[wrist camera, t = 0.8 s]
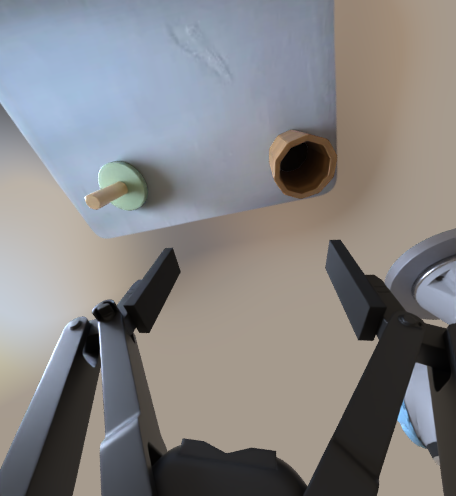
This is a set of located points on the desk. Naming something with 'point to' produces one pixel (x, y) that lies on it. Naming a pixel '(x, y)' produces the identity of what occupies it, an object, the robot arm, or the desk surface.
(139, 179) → the holder
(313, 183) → the tube
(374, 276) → the robot arm
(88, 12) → the desk surface
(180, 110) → the desk surface
